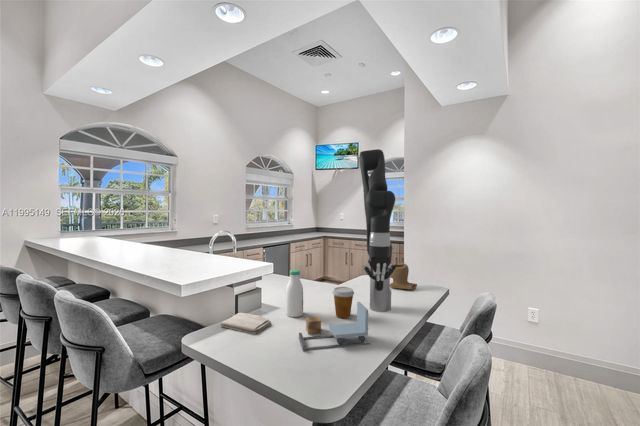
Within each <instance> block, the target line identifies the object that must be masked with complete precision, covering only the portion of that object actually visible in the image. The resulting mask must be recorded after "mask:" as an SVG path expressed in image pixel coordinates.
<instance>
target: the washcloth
mask: <svg viewBox="0 0 640 426" xmlns="http://www.w3.org/2000/svg"><path fill="white" fill-rule="evenodd" d="M271 324H272V321H271V320H270V319H269V318H266V317H264V316H261V315H257V314H252V313H244V312H238V313H236V314H234V315H233V316H231V317H229V318H227V319H225V320H223V321H222V322H220V327H221V328H224V327H225V329H229V330H230V329H231V330H234V331H239V332H244V333H248V334H252V335H256V334H258V333H260V332H261V331H264V329H266V328H267V327H269V326H270V325H271Z"/></svg>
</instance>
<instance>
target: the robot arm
mask: <svg viewBox="0 0 640 426" xmlns="http://www.w3.org/2000/svg"><path fill="white" fill-rule="evenodd" d="M358 157H359V167H360V174H361V180H362V181H361V182H362V188H363V203H364V213H365V214H364V215H365V222H366V223H365V224H366V251H367V255H368V256H369V259H368V261H367V263H366V264H365V265H362V269H363V270H364V271H365V273H366V274H367V276H368V277H369V278H370V282H369V308H370V310H372V311H374V312H380V313H381V312H384V313H385V312H387V311H391V310H392V289H390V288H391V287H390V284H391V276H392V275H391V274H392V273H393V271H394V270H395V269H396V266H394V265H393V264H394V263H393V264H392V257H393V256H392V255H393V246H392V242H391V234H390V232H391V231H390V229H391V228H390V227H391V226H390V225H391V217H392V213H393V209H394V207H395V204H396V203H395V202H396V195H395V193H394V192H393V191H391V190H388V184H387V183H388V182H387V178H386V159H385V154H384V152H383V150H382V149H378V148H376V149H369V150H362V151H360V153H359V156H358ZM371 171H372V172H371ZM369 172H371V174H370V175H369Z"/></svg>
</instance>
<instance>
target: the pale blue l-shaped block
mask: <svg viewBox="0 0 640 426" xmlns="http://www.w3.org/2000/svg"><path fill="white" fill-rule="evenodd" d="M356 305H357V306H356V322H347V323H335V324H329V325H328V327H329V330H330V333H331V335H334V337H333V338H335V339H336V342H337V345H339V344H340V345H341V344H345V343H344V342H345V340H344V338H345V339H346V338H353V337H354V338H355V337H356V338H358V341H359V343H360V342H362V343H363V342H366V339H367V338H366V337H367V336H369V309H368V308H366V306H365V305H364V304H363V303H362V302H361V301H357V302H356Z"/></svg>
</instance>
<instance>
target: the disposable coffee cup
mask: <svg viewBox="0 0 640 426" xmlns="http://www.w3.org/2000/svg"><path fill="white" fill-rule="evenodd" d="M332 293H333V301H334V309H335V317H336V318H338V319H341V320H342V319H344V320H346V319H349V318H351V314H352V306H353V299H354V294H355V292H354V289H353V288H352V287H349V286H347V287H346V286H338V287H337V286H336V287H334V288H333V291H332Z"/></svg>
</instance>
